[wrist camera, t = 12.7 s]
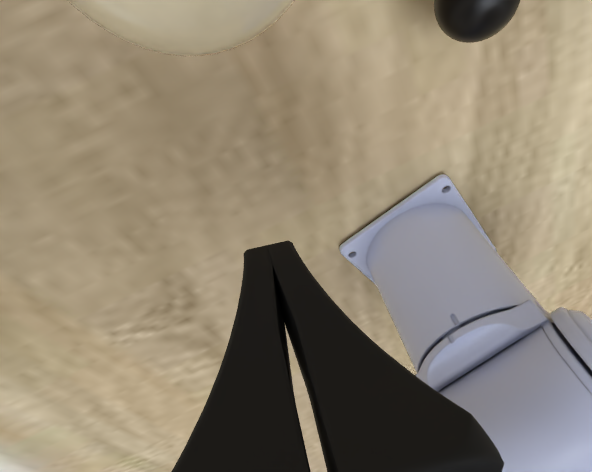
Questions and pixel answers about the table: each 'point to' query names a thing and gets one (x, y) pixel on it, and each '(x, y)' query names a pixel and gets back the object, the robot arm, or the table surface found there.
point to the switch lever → (473, 17)
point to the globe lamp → (184, 22)
